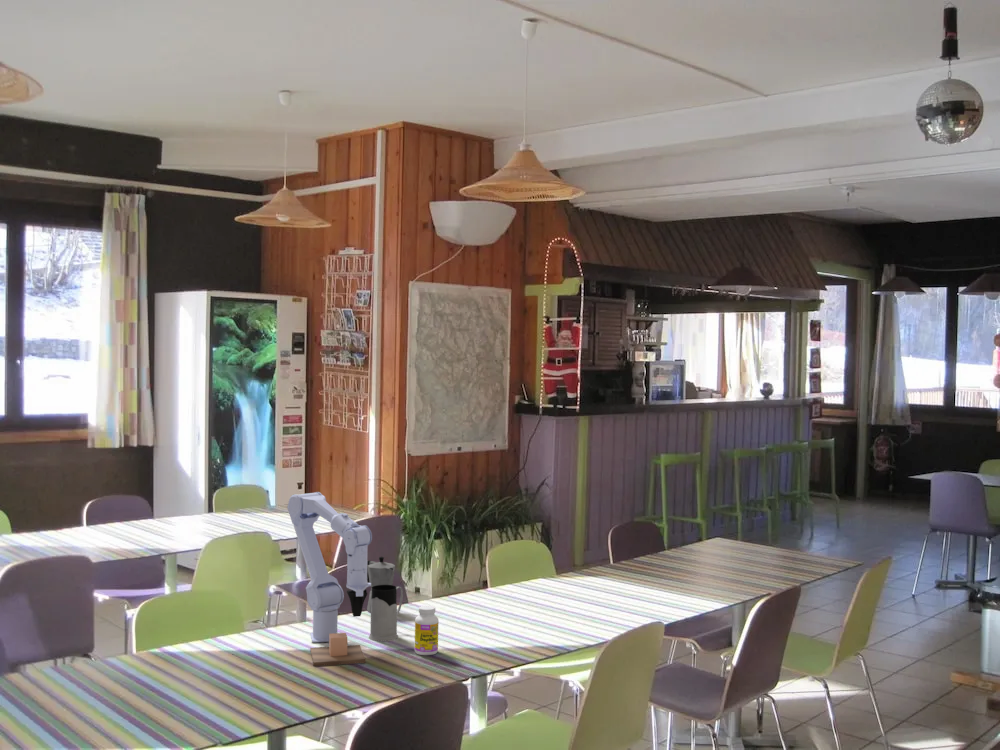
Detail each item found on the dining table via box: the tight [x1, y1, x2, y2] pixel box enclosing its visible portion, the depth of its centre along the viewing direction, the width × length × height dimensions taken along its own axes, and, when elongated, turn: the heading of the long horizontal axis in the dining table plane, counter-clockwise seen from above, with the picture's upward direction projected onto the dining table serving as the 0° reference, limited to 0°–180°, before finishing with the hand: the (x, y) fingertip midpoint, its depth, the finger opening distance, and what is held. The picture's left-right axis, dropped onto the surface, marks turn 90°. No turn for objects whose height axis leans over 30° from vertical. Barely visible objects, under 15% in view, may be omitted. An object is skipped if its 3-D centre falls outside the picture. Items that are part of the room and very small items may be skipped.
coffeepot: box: [366, 556, 396, 614], centre depth 323 cm, size 15×9×18 cm, turn 44°
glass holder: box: [368, 584, 404, 642], centre depth 293 cm, size 9×14×15 cm, turn 152°
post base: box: [310, 644, 366, 667], centre depth 270 cm, size 14×14×5 cm
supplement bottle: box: [414, 605, 439, 656], centre depth 275 cm, size 7×7×13 cm
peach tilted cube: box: [328, 632, 348, 656], centre depth 270 cm, size 5×5×5 cm
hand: (356, 615), depth 278 cm, fingers closed
